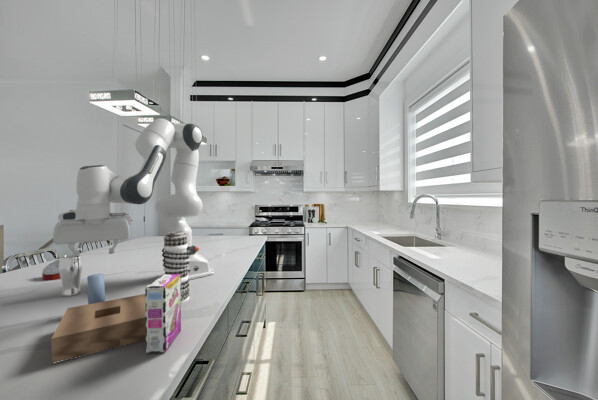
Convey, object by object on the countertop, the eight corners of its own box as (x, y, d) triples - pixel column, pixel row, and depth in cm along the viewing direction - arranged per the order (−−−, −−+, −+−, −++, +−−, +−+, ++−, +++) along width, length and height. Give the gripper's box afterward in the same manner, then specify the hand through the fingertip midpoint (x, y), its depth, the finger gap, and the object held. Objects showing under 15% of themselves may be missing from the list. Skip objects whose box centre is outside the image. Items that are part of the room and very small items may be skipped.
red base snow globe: (70, 285, 132) (76, 268, 130) (42, 289, 123) (48, 271, 121) (63, 271, 138) (69, 255, 136) (37, 274, 129) (42, 256, 127)
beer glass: (69, 297, 103) (68, 258, 103) (55, 296, 104) (53, 258, 104) (87, 291, 110) (86, 254, 109) (73, 290, 111) (72, 254, 111)
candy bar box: (166, 353, 66) (165, 286, 65) (145, 354, 65) (143, 287, 65) (182, 330, 77) (181, 273, 77) (164, 331, 76) (162, 273, 76)
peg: (105, 307, 94) (104, 272, 93) (104, 311, 90) (103, 276, 89) (89, 310, 91) (88, 275, 91) (87, 315, 87) (86, 278, 87)
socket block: (146, 311, 90) (146, 293, 89) (151, 338, 73) (150, 316, 73) (68, 328, 79) (67, 308, 79) (52, 364, 62) (51, 338, 62)
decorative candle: (170, 295, 104) (169, 230, 103) (194, 295, 104) (193, 230, 103) (157, 305, 95) (155, 234, 94) (183, 305, 94) (182, 233, 94)
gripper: (130, 212, 98) (131, 250, 98) (55, 214, 87) (56, 257, 87) (130, 212, 93) (131, 253, 93) (51, 215, 82) (51, 260, 82)
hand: (94, 255), depth 90 cm, fingers open, 8 cm apart
